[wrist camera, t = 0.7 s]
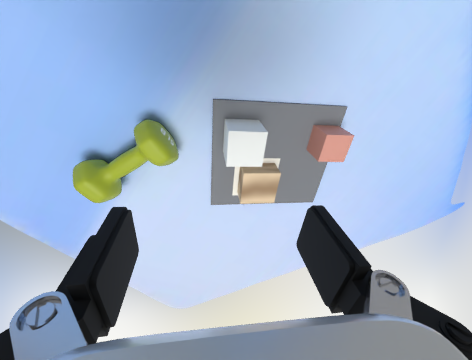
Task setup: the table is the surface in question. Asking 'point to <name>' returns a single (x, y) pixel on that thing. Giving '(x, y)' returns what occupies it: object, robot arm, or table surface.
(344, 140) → the red cube
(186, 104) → the table surface
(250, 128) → the grey cube
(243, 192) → the oak base
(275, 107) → the grey mat
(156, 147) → the dumbbell
